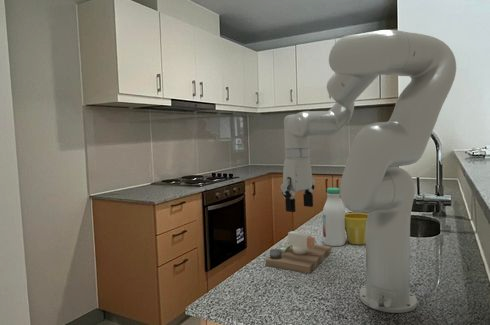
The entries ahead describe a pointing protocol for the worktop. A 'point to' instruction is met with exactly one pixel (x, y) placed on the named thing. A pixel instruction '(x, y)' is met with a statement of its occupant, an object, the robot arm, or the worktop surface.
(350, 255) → the worktop surface
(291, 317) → the worktop surface
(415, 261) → the worktop surface
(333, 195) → the milk bottle
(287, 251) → the brown lever switch panel
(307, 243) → the wing knob
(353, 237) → the plant pot
